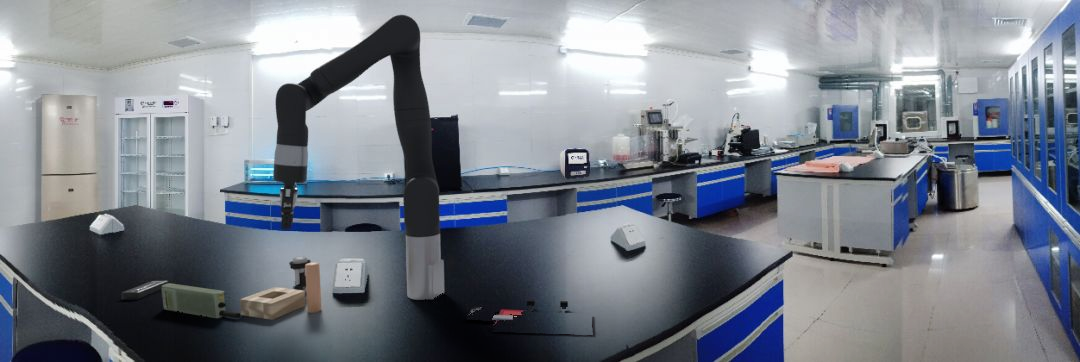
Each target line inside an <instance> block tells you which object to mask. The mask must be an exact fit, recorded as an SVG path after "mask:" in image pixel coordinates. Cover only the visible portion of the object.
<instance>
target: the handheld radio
mask: <svg viewBox="0 0 1080 362" xmlns="http://www.w3.org/2000/svg"><path fill="white" fill-rule="evenodd" d="M160 291H161V297H162V306H163V309H164V310H166V311H172V312H177V311H179V312H178V313H182V312H183V314H189V315H195V316H200V315H202V316H201V317H206V316H207V317H208V318H212V319H213V318H214V319H220V318H223V317H226V318H232V319H239V318H240V317H241V316H242V315H241V312H233V311H228V310H227V311H226V302H225V294H224V293H225V292H226V290H225V291H224V290H221V289H220V290H219V289H214V288H213V289H212V288H204V287H198V286H190V285H184V284H179V283H178V284H176V283H170V282H169V283H168V284H165V285H162V289H161V290H160ZM207 317H206V318H207Z"/></svg>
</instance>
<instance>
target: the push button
mask: <svg viewBox="0 0 1080 362" xmlns="http://www.w3.org/2000/svg"><path fill="white" fill-rule="evenodd" d="M308 263H312V262H311V259H308V257H307V256H297V257H294V258H292V261H289V263H288V264H289V265H290V266H289V267H290V269H291V270H294V285H293V286H292V289H295V290H303V291H305V294H307V291H306V271H305V265H306V264H308Z"/></svg>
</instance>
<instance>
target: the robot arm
mask: <svg viewBox="0 0 1080 362" xmlns="http://www.w3.org/2000/svg"><path fill="white" fill-rule="evenodd" d="M387 57H389V59H390V60H391V61H390V62H391V66H392V67H391V68H392V73H393V88H392V90H393V91H392V93H393V95H392V96H393V97H392V98H393V112H394V113H393V114H394V120H395V127H396V132H397V136H398V140H399V143H400V145H401V149H402V152H403V156H404V160H405V161H404V163H405V173H406V174H405V175H406V181H405V182H406V183H405V184H406V185H405V186H404V188H403V194H402V195H403V199H402V200H403V219H404V221H403V223H404V228H405V255H406V256H405V258H406V259H405V261H406V263H405V265H406V294H407V297H408V299H411V300H415V301H421V300H422V301H423V300H425V299H426V300H435V299H436V298H438V297H440V296H441V295H443V294H445V264H444V263H445V262H444V259H441V258H442V257H441V222H440V221H441V219H440V187H439V184H438V180H437V176H436V172H435V166H434V164H433V163H434V162H433V154H432V150H433V149H432V142H433V139H432V121H431V114H430V105H429V100H428V93H427V91H426V87H425V84H424V80H423V77H422V75H423V74H422V70H421V31H420V26H419V24H418V23H417V22H416V21H415V19H414V18H412V17H411V16H409V15H406V14H395V15H393V16H391V17H390V18H389V19H388V20H386V21H385V22H384V23H383V24H382V25H380V26H379V27H378V28H377V29H375V31H373V32H372V33H371V34H370V35H368V36H367V37H365V38H364V39H362V41H360V42H358V43H357V44H355V45H354V46H353V47H351V48H349V49H347V50H345V51H344V52H343V53H341V54H339V55H337V56H336V57H334V58H332V59H330V60H328V61H327V62H324V63H323V64H322V65H319V66H318V67H317V68H315V69H313V70H312V71H311V72H310V75H309V76H308V77H306V78H304V79H303V80H301V81H300V82H298V83H294V82H288V83H285V84H284V83H283V84H282V85H281V86H280V87H279V88H278V89H277V92H276V95H275V114H276V122H277V130H276V131H277V132H276V143H275V144H276V145H275V148H274V149H275V150H274V157H273V174H272V175H273V177H272V179H273V181H275V182H277V183H282V184H283V187H280V190H279V197H280V201H279V206H280V213H281V223H280V224H281V225H280V229H282V230H291V228H292V225H293V221H294V209H295V207H296V204H297V201H298V200H297V199H298V198H297V197H298V196H299V195H298V194H299V188H297V184H303V183H306V182H307V179H308V177H307V176H308V163H309V152H308V146H309V127H308V125H307V123H306V122H307V121H306V120H307V111H309V110H311V109H312V108H314V107H315V106H317V105H318V104H320V103H321V102H322V101H324V100H325V99H326V98H327V97H329V96H330V95H332V94H334V93H336V92H337V91H339V90H341V89H342V88H344V87H346V86H347V85H349V84H350V83H353V81H355V80H356V79H358V78H359V77H360V76H361V75H362V74H364V73H365V72H366V71H368V70H369V69H370V68H372V66H374V65H375V64H377V63H378V62H380V61H382V60H383V59H386V58H387ZM442 293H443V294H442ZM440 294H441V295H440ZM439 295H440V296H439ZM437 296H438V297H437ZM435 297H436V298H435ZM434 298H435V299H434Z"/></svg>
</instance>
